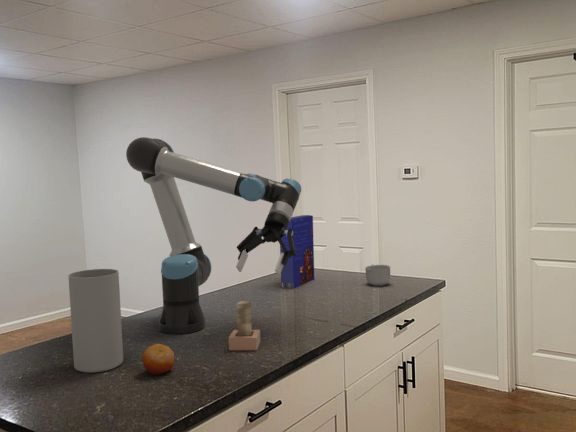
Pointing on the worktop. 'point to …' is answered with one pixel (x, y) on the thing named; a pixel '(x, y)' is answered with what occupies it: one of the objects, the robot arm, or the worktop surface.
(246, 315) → the beige tall square post
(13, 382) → the worktop surface
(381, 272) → the teacup
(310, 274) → the cereal box
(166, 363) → the fruit
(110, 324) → the cylinder vase
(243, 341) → the orange-brown square frame
